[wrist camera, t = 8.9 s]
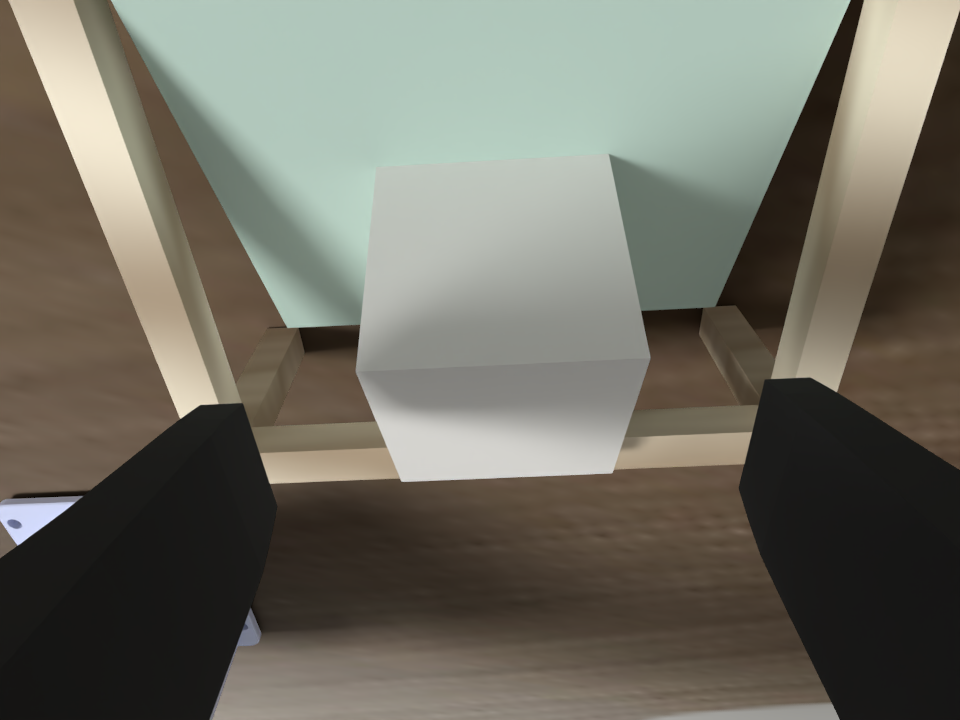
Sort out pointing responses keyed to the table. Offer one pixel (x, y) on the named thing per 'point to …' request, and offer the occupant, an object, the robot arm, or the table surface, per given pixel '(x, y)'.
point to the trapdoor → (483, 117)
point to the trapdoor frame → (270, 371)
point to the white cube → (500, 318)
